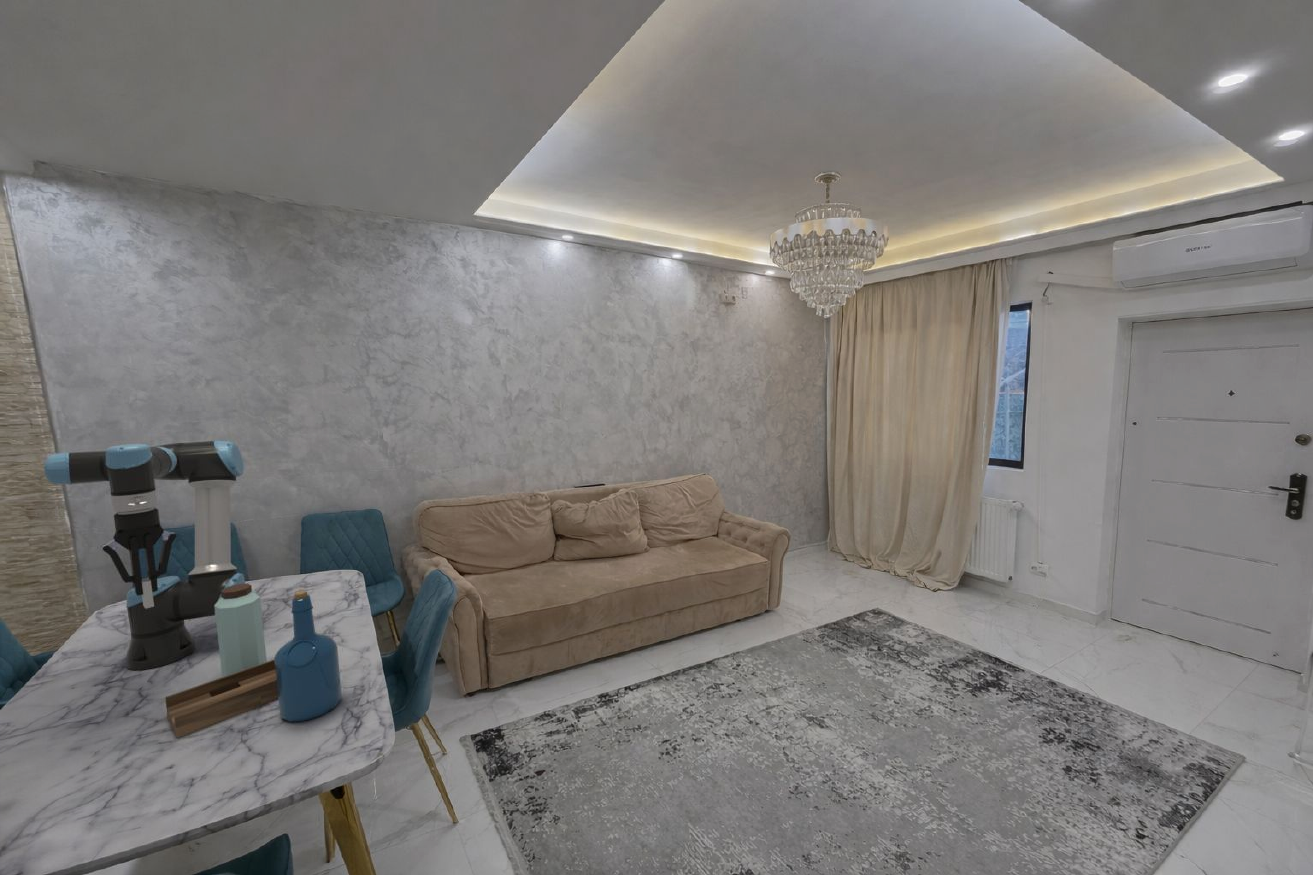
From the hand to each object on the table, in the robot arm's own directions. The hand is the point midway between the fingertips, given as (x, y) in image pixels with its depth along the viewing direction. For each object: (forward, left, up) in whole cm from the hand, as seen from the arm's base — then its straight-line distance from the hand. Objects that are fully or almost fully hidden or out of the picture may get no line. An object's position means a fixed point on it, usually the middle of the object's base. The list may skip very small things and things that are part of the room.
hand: (148, 606), depth 127 cm
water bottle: (-7, +18, -28) cm, 34 cm away
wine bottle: (+26, +24, -28) cm, 45 cm away
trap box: (+8, +16, -28) cm, 33 cm away
